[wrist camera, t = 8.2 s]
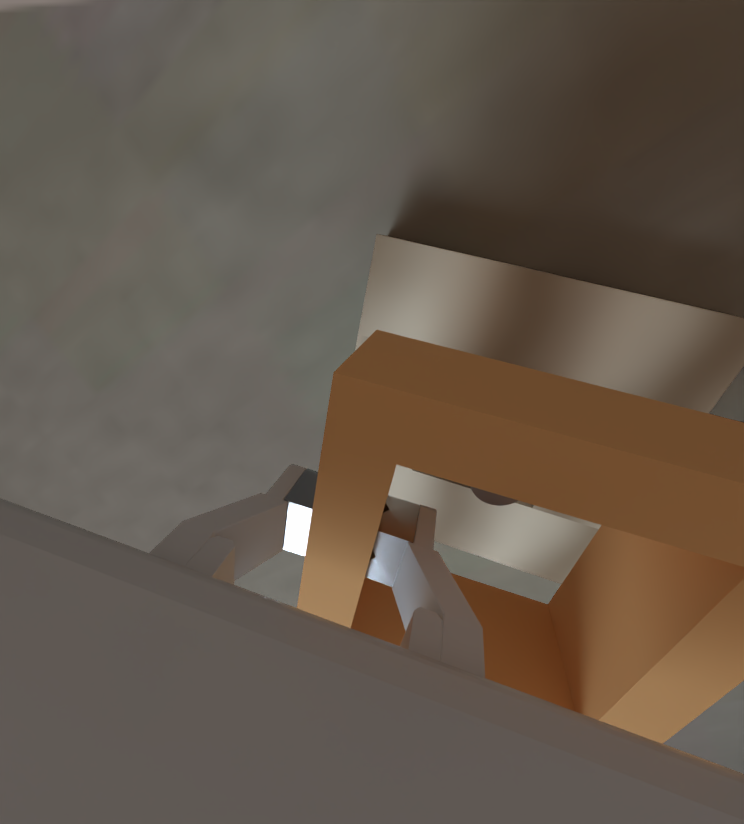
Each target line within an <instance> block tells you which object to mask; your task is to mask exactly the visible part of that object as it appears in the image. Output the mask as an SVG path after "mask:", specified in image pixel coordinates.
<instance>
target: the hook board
mask: <svg viewBox="0 0 744 824" xmlns="http://www.w3.org/2000/svg"><path fill="white" fill-rule="evenodd" d="M376 330H381V331H385V332H388V333H392V334H396V335H400V336H404V337H408V338H412V339H416V340H420V341H424V342H428V343H432V344H436V345H440V346H444V347H448V348H452V349H456V350H459V351H463V352H467V353H471V354H475V355H479V356H483V357H487V358H491V359H495V360H499V361H503V362H507V363H511V364H515V365H519V366H523V367H527V368H530V369H534V370H538V371H542V372H546V373H550V374H554V375H558V376H562V377H566V378H570V379H574V380H578V381H582V382H586V383H590V384H594V385H598V386H601V387H605V388H609V389H613V390H617V391H621V392H625V393H629V394H633V395H637V396H641V397H645V398H649V399H653V400H657V401H661V402H665V403H669V404H672V405H676V406H680V407H684V408H688V409H692V410H696V411H700V412H704V413H708V414H709V412H710V411H711V410H712V408H713V407H714V406H715V404H716V403H717V402H718V400H719V399H720V398H721V396H722V395H723V393H724V392H725V391H726V389H727V388H728V387H729V385H730V384H731V383H732V381H733V380H734V379H735V377H736V376H737V374H738V373H739V372H740V370H741V369H742V368H743V366H744V318H742V317H738V316H734V315H730V314H725V313H721V312H717V311H712V310H708V309H703V308H699V307H695V306H690V305H686V304H682V303H677V302H673V301H669V300H664V299H660V298H656V297H651V296H647V295H643V294H638V293H634V292H630V291H625V290H621V289H616V288H612V287H608V286H603V285H599V284H595V283H590V282H586V281H582V280H577V279H573V278H569V277H564V276H560V275H556V274H551V273H547V272H543V271H538V270H534V269H529V268H525V267H521V266H516V265H512V264H508V263H503V262H499V261H495V260H490V259H486V258H482V257H477V256H473V255H469V254H464V253H460V252H456V251H451V250H447V249H442V248H438V247H434V246H429V245H425V244H421V243H416V242H412V241H408V240H403V239H399V238H395V237H390V236H385V235H379V234H377V235H376V240H375V246H374V251H373V257H372V262H371V267H370V273H369V278H368V284H367V289H366V294H365V300H364V305H363V311H362V316H361V321H360V327H359V332H358V338H357V343H356V348H355V351H356V350H357V349H358V348H359V347H360V346H361V345H362V344H363V343H364V342H365V341H366V340H367V339H368V338H369V337H370V336H371V335H372V334H373V333H374V332H375V331H376ZM388 495H390V496H393V497H396V498H399V499H403V500H406V501H409V502H412V503H415V504H419V505H424V506H427V507H430V508H434V509H436V510H437V517H436V527H435V537H434V541H436V542H439V543H442V544H445V545H448V546H451V547H454V548H457V549H459V550H462V551H465V552H468V553H471V554H474V555H477V556H480V557H483V558H486V559H489V560H492V561H495V562H498V563H501V564H504V565H507V566H510V567H512V568H515V569H518V570H521V571H524V572H527V573H530V574H533V575H536V576H539V577H542V578H545V579H548V580H551V581H554V582H557V583H560V584H562V583H563V581H564V580H565V578H566V577H567V576H568V574H569V573H570V571H571V570H572V568H573V567H574V565H575V564H576V562H577V561H578V559H579V558H580V556H581V555H582V553H583V552H584V550H585V549H586V547H587V546H588V544H589V543H590V541H591V540H592V538H593V537H594V535H595V534H596V533H597V531H598V530H599V528H600V527H601V525H600V524H596V523H593V522H590V521H586V520H583V519H579V518H576V517H573V516H569V515H566V514H563V513H559V512H556V511H552V510H549V509H546V508H542V507H539V506H535V505H532V504H529V503H525V502H522V501H518V500H515V499H512V498H508V497H505V496H502V495H498V494H495V493H491V492H488V491H485V490H481V489H478V488H474V487H471V486H468V485H464V484H461V483H458V482H454V481H451V480H447V479H444V478H441V477H437V476H434V475H430V474H427V473H424V472H420V471H417V470H413V469H410V468H407V467H403V466H400V465H396V468H395V472H394V475H393V479H392V482H391V486H390V490H389V493H388Z"/></svg>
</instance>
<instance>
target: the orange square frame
mask: <svg viewBox="0 0 744 824" xmlns="http://www.w3.org/2000/svg"><path fill="white" fill-rule="evenodd" d="M396 465H400V466H403V467H407V468H410V469H413V470H417V471H420V472H424V473H427V474H430V475H434V476H437V477H441V478H444V479H447V480H451V481H454V482H458V483H461V484H464V485H468V486H471V487H474V488H478V489H481V490H485V491H488V492H491V493H495V494H498V495H502V496H505V497H508V498H512V499H515V500H518V501H522V502H525V503H529V504H532V505H535V506H539V507H542V508H546V509H549V510H552V511H556V512H559V513H563V514H566V515H569V516H573V517H576V518H579V519H583V520H586V521H590V522H593V523H596V524H600V525H601V527H600V528H599V530H598V531H597V533H596V534H595V535H594V537H593V538H592V540H591V541H590V543H589V544H588V546H587V547H586V549H585V550H584V552H583V553H582V555H581V556H580V558H579V559H578V561H577V562H576V564H575V565H574V567H573V568H572V570H571V571H570V573H569V574H568V576H567V577H566V578H565V580H564V581H563V583H562V584H561V586H560V587H559V589H558V590H557V592H556V593H555V595H554V596H553V598H552V599H551V601H550V602H549V604H545V603H541V602H538V601H535V600H532V599H529V598H526V597H523V596H520V595H517V594H514V593H511V592H508V591H504V590H501V589H498V588H495V587H492V586H489V585H486V584H483V583H480V582H477V581H474V580H471V579H467V578H464V577H461V576H458V575H455V574H452V573H451V575H452V576H453V578H454V580H455V581H456V583H457V585H458V587H459V588H460V590H461V592H462V593H463V595H464V597H465V599H466V600H467V602H468V604H469V605H470V607H471V609H472V611H473V612H474V614H475V616H476V617H477V619H478V621H479V622H480V624H481V626H482V628H483V644H484V664H485V678H486V679H489V680H492V681H494V682H497V683H500V684H502V685H505V686H508V687H511V688H513V689H516V690H519V691H521V692H524V693H527V694H529V695H532V696H535V697H537V698H540V699H543V700H546V701H548V702H551V703H554V704H556V705H559V706H562V707H564V708H567V709H570V710H572V711H575V712H578V713H581V714H583V715H586V716H589V717H591V718H594V719H597V720H599V721H602V722H605V723H608V724H610V725H613V726H616V727H618V728H621V729H624V730H626V731H629V732H632V733H634V734H637V735H640V736H643V737H645V738H648V739H651V740H653V741H656V742H659V743H661V744H663V743H664V742H665V741H667V740H668V739H669V738H670V737H672V736H673V735H674V734H676V733H677V732H678V731H679V730H681V729H682V728H683V727H685V726H686V725H687V724H688V723H690V722H691V721H692V720H694V719H695V718H696V717H697V716H699V715H700V714H701V713H702V712H704V711H705V710H706V709H708V708H709V707H710V706H711V705H713V704H714V703H715V702H717V701H718V700H719V699H720V698H722V697H723V696H724V695H726V694H727V693H728V692H729V691H731V690H732V689H733V688H734V687H736V686H737V685H738V684H740V683H741V682H742V681H743V680H744V423H743V422H740V421H736V420H732V419H728V418H724V417H720V416H716V415H712V414H708V413H704V412H700V411H696V410H692V409H688V408H684V407H680V406H676V405H672V404H669V403H665V402H661V401H657V400H653V399H649V398H645V397H641V396H637V395H633V394H629V393H625V392H621V391H617V390H613V389H609V388H605V387H601V386H598V385H594V384H590V383H586V382H582V381H578V380H574V379H570V378H566V377H562V376H558V375H554V374H550V373H546V372H542V371H538V370H534V369H530V368H527V367H523V366H519V365H515V364H511V363H507V362H503V361H499V360H495V359H491V358H487V357H483V356H479V355H475V354H471V353H467V352H463V351H459V350H456V349H452V348H448V347H444V346H440V345H436V344H432V343H428V342H424V341H420V340H416V339H412V338H408V337H404V336H400V335H396V334H392V333H388V332H385V331H381V330H376V331H375V332H374V333H373V334H372V335H371V336H370V337H369V338H368V339H367V340H366V341H365V342H364V343H363V344H362V345H361V346H360V347H359V348H358V349H357V350H356V351H355V352H354V353H353V354H352V355H351V356H350V357H349V358H348V359H347V360H346V361H345V362H344V363H343V364H342V365H341V366H340V367H339V368H338V369H337V370H336V371H335V372H334V374H333V380H332V387H331V393H330V399H329V406H328V412H327V419H326V425H325V431H324V438H323V444H322V451H321V457H320V464H319V470H318V476H317V483H316V489H315V496H314V502H313V508H312V515H311V521H310V528H309V534H308V540H307V547H306V553H305V560H304V566H303V573H302V579H301V585H300V592H299V598H298V605H297V608H298V609H300V610H303V611H306V612H308V613H311V614H314V615H317V616H319V617H322V618H325V619H327V620H330V621H333V622H335V623H338V624H341V625H343V626H346V627H349V628H352V629H354V630H357V631H360V632H362V633H365V634H368V635H370V636H373V637H376V638H379V639H381V640H384V641H387V642H389V643H392V644H395V645H397V646H400V644H401V642H402V639H403V637H404V634H405V632H406V631H405V628H404V625H403V622H402V618H401V615H400V612H399V609H398V606H397V603H396V600H395V596H394V593H393V590H392V588H393V587H390V586H387V585H385V584H382V583H379V582H377V581H374V580H372V579H369V578H366V577H365V575H366V571H367V568H368V564H369V560H370V557H371V553H372V550H373V546H374V543H375V539H376V535H377V532H378V528H379V525H380V521H381V518H382V514H383V511H384V507H385V503H386V500H387V497H388V493H389V490H390V486H391V482H392V479H393V475H394V472H395V468H396Z"/></svg>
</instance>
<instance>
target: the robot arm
mask: <svg viewBox="0 0 744 824" xmlns="http://www.w3.org/2000/svg"><path fill="white" fill-rule="evenodd" d="M317 476H318V472H316V471H313V470H310V469H306V468H304V467H301V466H298V465H295V464H291V465H289V466H288V468H287V469H286V470H285V471H284V472H283V474H282V475H281V476H280V477H279V479H278V480H277V481H276V482H275V483H274V485H273V486H272V487H271V488H270V490H269V491H268V492H267V493H266V494H262V493H260V494H257V495H254V496H251V497H249V498H246V499H243V500H240V501H237V502H235V503H232V504H229V505H226V506H224V507H221V508H218V509H215V510H212V511H210V512H207V513H204V514H201V515H198V516H196V517H193V518H190V519H187V520H184V521H182V522H181V523H180V524H179V525H178V526H177V527H176V528H175V529H174V530H173V531H172V532H171V533H170V534H169V535H167V536H166V537H165V538H164V539H163V540H162V541H161V542H160V543H159V544H158V545H157V546H156V547H155V548H154V549H153V550H152V551H151V552H150V553H147V552H144V551H141V550H139V549H136V548H133V547H130V546H128V545H125V544H122V543H120V542H117V541H114V540H112V539H109V538H106V537H104V536H101V535H98V534H95V533H93V532H90V531H87V530H85V529H82V528H79V527H77V526H74V525H71V524H68V523H66V522H63V521H60V520H58V519H55V518H52V517H50V516H47V515H44V514H41V513H39V512H36V511H33V510H31V509H28V508H25V507H23V506H20V505H17V504H14V503H12V502H9V501H6V500H4V499H1V498H0V824H744V774H742V773H740V772H737V771H734V770H732V769H729V768H726V767H723V766H721V765H718V764H715V763H713V762H710V761H707V760H705V759H702V758H699V757H697V756H694V755H691V754H688V753H686V752H683V751H680V750H678V749H675V748H672V747H670V746H667V745H664V744H661V743H659V742H656V741H653V740H651V739H648V738H645V737H643V736H640V735H637V734H634V733H632V732H629V731H626V730H624V729H621V728H618V727H616V726H613V725H610V724H608V723H605V722H602V721H599V720H597V719H594V718H591V717H589V716H586V715H583V714H581V713H578V712H575V711H572V710H570V709H567V708H564V707H562V706H559V705H556V704H554V703H551V702H548V701H546V700H543V699H540V698H537V697H535V696H532V695H529V694H527V693H524V692H521V691H519V690H516V689H513V688H511V687H508V686H505V685H502V684H500V683H497V682H494V681H492V680H489V679H486V678H485V664H484V644H483V628H482V626H481V624H480V622H479V621H478V619H477V617H476V616H475V614H474V612H473V611H472V609H471V607H470V605H469V604H468V602H467V600H466V599H465V597H464V595H463V593H462V592H461V590H460V588H459V587H458V585H457V583H456V581H455V580H454V578H453V576H452V575H451V573H450V571H449V570H448V568H447V566H446V564H445V563H444V561H443V559H442V558H441V556H440V554H439V552H437V551H434V550H433V547H434V537H435V527H436V517H437V510H436V509H434V508H430V507H427V506H424V505H419V504H415V503H412V502H409V501H406V500H403V499H399V498H396V497H393V496H390V495H388V497H387V500H386V503H385V507H384V511H383V514H382V518H381V521H380V525H379V528H378V532H377V535H376V539H375V543H374V546H373V550H372V553H371V557H370V560H369V564H368V568H367V571H366V575H365V577H366V578H369V579H372V580H374V581H377V582H379V583H382V584H385V585H387V586H390V587H393V588H392V590H393V593H394V596H395V600H396V603H397V606H398V609H399V612H400V615H401V618H402V622H403V625H404V628H405V631H406V632H405V634H404V637H403V639H402V642H401V644H400V646H397V645H395V644H392V643H389V642H387V641H384V640H381V639H379V638H376V637H373V636H370V635H368V634H365V633H362V632H360V631H357V630H354V629H352V628H349V627H346V626H343V625H341V624H338V623H335V622H333V621H330V620H327V619H325V618H322V617H319V616H317V615H314V614H311V613H308V612H306V611H303V610H300V609H298V608H295V607H292V606H290V605H287V604H284V603H281V602H279V601H276V600H273V599H271V598H268V597H265V596H263V595H260V594H257V593H255V592H252V591H249V590H246V589H244V588H241V587H238V586H236V585H234V581H235V580H236V579H238V578H240V577H241V576H243V575H244V574H246V573H248V572H249V571H251V570H252V569H254V568H255V567H257V566H259V565H260V564H262V563H263V562H265V561H267V560H268V559H270V558H271V557H273V556H275V555H276V554H278V553H279V552H281V551H282V549H284V550H287V551H291V552H294V553H297V554H300V555H303V556H305V553H306V547H307V540H308V534H309V528H310V521H311V515H312V508H313V502H314V496H315V489H316V483H317Z"/></svg>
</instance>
